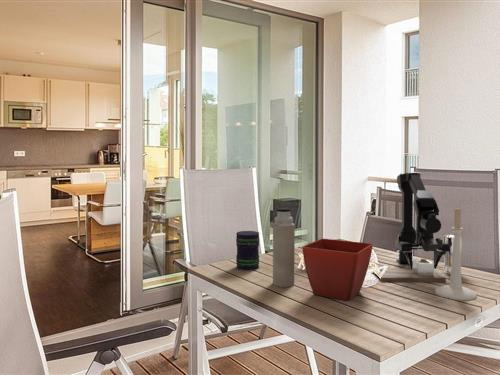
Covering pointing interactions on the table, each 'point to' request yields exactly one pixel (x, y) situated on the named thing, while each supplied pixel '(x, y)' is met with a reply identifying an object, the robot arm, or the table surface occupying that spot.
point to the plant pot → (336, 267)
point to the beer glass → (448, 257)
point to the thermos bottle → (283, 249)
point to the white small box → (423, 267)
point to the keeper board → (410, 276)
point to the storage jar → (247, 250)
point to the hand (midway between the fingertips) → (423, 268)
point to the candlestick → (456, 268)
